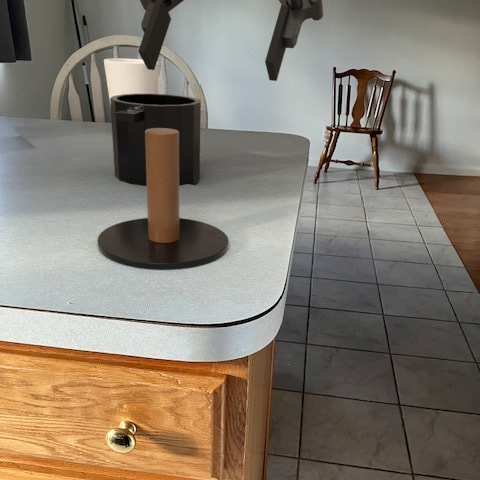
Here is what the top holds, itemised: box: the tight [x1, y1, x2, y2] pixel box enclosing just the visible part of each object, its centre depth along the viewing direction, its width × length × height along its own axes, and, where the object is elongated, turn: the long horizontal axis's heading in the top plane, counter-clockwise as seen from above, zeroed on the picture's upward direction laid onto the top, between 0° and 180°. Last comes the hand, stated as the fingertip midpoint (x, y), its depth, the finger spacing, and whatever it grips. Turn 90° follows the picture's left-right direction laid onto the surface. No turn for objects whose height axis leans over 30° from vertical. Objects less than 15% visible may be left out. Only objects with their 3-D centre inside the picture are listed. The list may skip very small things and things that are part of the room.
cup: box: [103, 57, 160, 107], centre depth 101 cm, size 10×10×13 cm
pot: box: [109, 93, 202, 187], centre depth 73 cm, size 12×17×10 cm
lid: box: [97, 128, 229, 270], centre depth 51 cm, size 13×13×11 cm
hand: (206, 66), depth 55 cm, fingers open, 13 cm apart
